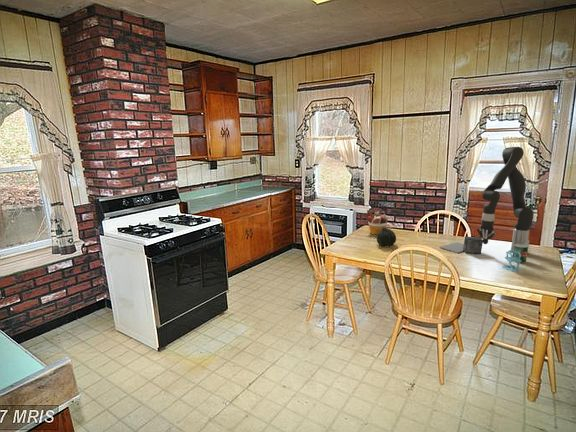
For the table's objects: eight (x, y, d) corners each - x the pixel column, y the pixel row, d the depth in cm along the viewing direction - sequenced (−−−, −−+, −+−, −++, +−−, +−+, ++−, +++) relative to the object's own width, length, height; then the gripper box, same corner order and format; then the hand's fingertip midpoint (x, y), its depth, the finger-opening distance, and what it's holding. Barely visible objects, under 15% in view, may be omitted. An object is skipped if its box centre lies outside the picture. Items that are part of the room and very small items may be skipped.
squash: (403, 239, 266) (392, 222, 272) (390, 244, 258) (379, 227, 264) (391, 247, 277) (382, 231, 283) (379, 252, 269) (369, 235, 274)
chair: (509, 272, 214) (511, 253, 212) (501, 266, 222) (504, 249, 220) (522, 271, 214) (524, 253, 211) (514, 266, 222) (516, 248, 219)
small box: (477, 250, 252) (480, 236, 249) (481, 254, 246) (483, 240, 243) (462, 249, 254) (464, 235, 251) (465, 252, 248) (467, 239, 244)
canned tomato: (526, 264, 226) (528, 247, 223) (512, 262, 230) (514, 246, 227) (525, 260, 233) (527, 244, 230) (511, 258, 236) (513, 242, 234)
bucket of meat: (391, 232, 305) (392, 210, 301) (383, 236, 292) (384, 213, 288) (369, 229, 317) (370, 207, 312) (362, 233, 304) (362, 211, 300)
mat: (474, 248, 258) (474, 247, 258) (457, 253, 249) (457, 252, 248) (456, 243, 271) (456, 242, 271) (439, 247, 261) (439, 246, 261)
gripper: (501, 220, 232) (497, 245, 236) (481, 216, 244) (479, 240, 248) (494, 222, 229) (491, 247, 233) (475, 218, 240) (472, 242, 244)
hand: (485, 243), depth 240 cm, fingers closed
